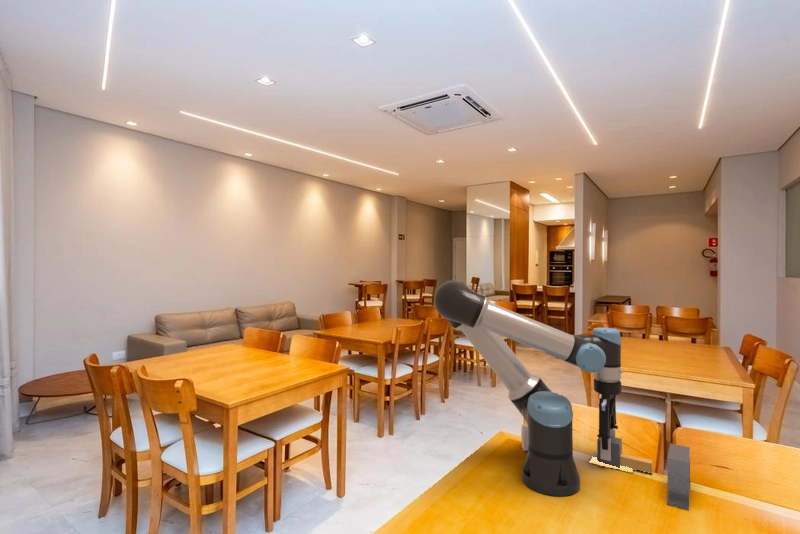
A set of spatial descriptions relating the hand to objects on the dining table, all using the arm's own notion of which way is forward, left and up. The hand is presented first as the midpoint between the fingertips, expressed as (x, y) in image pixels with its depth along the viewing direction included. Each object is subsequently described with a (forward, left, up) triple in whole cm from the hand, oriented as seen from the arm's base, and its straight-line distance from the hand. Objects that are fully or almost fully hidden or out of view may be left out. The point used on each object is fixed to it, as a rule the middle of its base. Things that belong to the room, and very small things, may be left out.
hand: (608, 454), depth 126 cm
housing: (+18, -7, -3) cm, 20 cm away
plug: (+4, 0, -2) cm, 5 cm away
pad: (+1, 0, -3) cm, 3 cm away
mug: (-21, -1, -3) cm, 21 cm away
